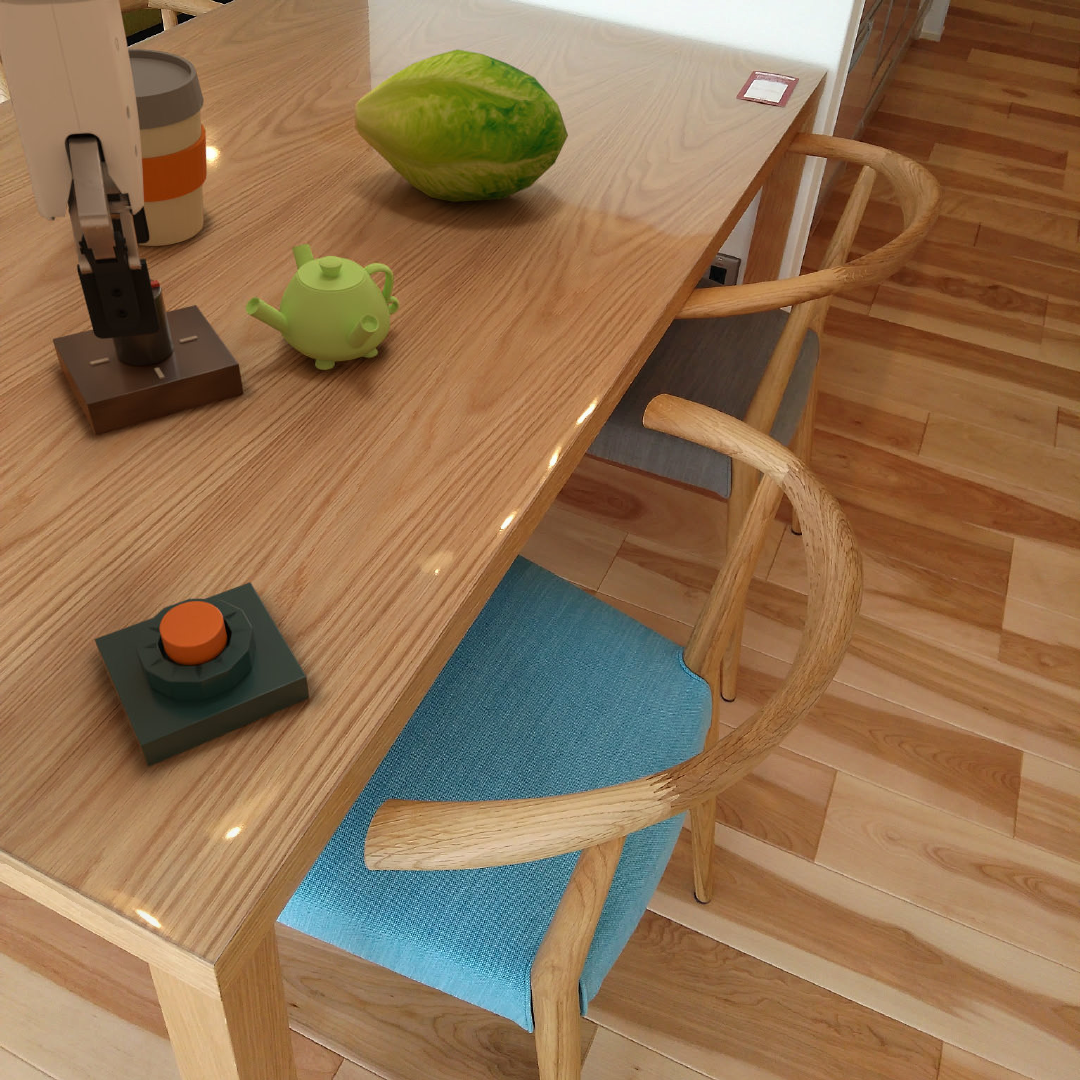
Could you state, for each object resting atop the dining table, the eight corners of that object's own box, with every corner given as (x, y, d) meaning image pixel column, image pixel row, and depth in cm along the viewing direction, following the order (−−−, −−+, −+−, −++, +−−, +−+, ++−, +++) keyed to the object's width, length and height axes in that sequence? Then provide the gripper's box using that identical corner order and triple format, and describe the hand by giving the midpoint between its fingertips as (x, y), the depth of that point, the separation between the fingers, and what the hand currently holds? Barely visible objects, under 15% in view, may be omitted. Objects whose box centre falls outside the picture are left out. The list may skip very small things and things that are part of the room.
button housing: (148, 767, 59) (134, 727, 56) (102, 661, 64) (87, 619, 61) (309, 698, 63) (304, 657, 60) (254, 604, 68) (247, 562, 66)
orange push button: (176, 674, 59) (171, 655, 58) (156, 633, 61) (150, 614, 60) (236, 651, 61) (232, 632, 60) (214, 612, 63) (210, 592, 62)
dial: (126, 371, 81) (110, 307, 77) (109, 343, 83) (93, 280, 79) (180, 357, 83) (168, 294, 79) (163, 330, 85) (149, 268, 81)
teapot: (417, 325, 94) (416, 241, 88) (376, 395, 86) (372, 308, 80) (302, 303, 95) (293, 219, 89) (250, 370, 87) (237, 282, 81)
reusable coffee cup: (180, 265, 98) (150, 109, 88) (66, 238, 100) (24, 82, 90) (244, 210, 107) (224, 62, 97) (138, 187, 109) (107, 39, 99)
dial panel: (95, 435, 80) (86, 402, 77) (61, 369, 85) (51, 336, 83) (243, 393, 85) (238, 362, 83) (201, 334, 90) (196, 302, 88)
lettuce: (351, 214, 106) (363, 168, 119) (567, 224, 108) (556, 178, 121) (344, 63, 98) (358, 31, 110) (579, 77, 100) (567, 44, 112)
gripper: (-37, -114, 49) (53, 218, 61) (-69, 1, 38) (49, 383, 49) (128, -112, 51) (183, 209, 63) (145, -2, 40) (209, 365, 52)
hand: (124, 285), depth 56 cm, fingers open, 9 cm apart
